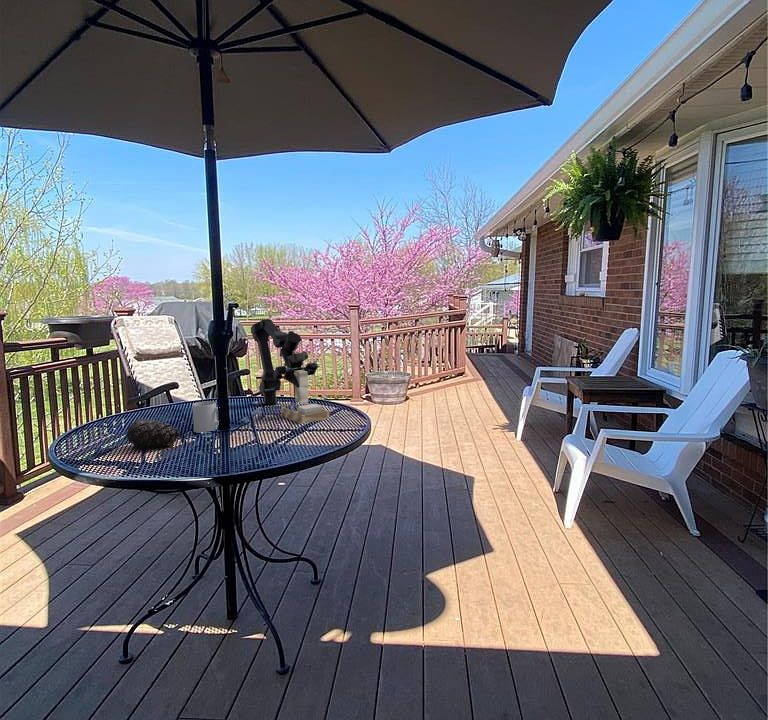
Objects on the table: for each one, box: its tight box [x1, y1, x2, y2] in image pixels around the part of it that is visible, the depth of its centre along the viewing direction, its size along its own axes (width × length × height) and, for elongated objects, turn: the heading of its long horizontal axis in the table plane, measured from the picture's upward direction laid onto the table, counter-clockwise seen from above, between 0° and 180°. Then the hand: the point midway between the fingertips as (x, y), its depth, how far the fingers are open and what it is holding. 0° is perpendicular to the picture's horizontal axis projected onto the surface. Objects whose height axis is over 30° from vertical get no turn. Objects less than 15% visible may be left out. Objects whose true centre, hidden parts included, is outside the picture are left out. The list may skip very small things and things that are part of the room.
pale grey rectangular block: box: [294, 370, 309, 404], centre depth 200 cm, size 5×4×13 cm
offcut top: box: [297, 403, 323, 415], centre depth 196 cm, size 6×8×2 cm
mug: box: [191, 400, 220, 433], centre depth 183 cm, size 12×8×11 cm
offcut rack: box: [279, 402, 332, 425], centre depth 200 cm, size 20×14×4 cm
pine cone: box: [126, 418, 181, 451], centre depth 166 cm, size 10×18×10 cm, turn 95°
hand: (302, 386), depth 199 cm, fingers closed on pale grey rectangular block, 3 cm apart
